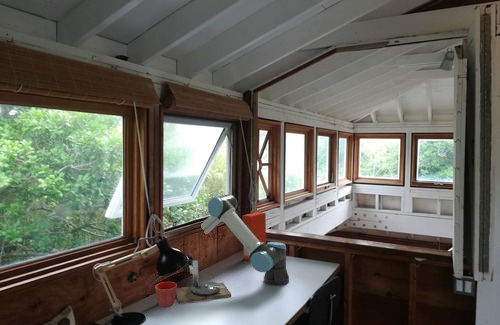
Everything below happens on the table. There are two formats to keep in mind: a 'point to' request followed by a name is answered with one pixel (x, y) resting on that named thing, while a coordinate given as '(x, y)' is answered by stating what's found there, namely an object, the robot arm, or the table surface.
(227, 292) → the walnut base board
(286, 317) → the table surface
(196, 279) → the wheel
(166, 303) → the flower pot
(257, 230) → the file binder
